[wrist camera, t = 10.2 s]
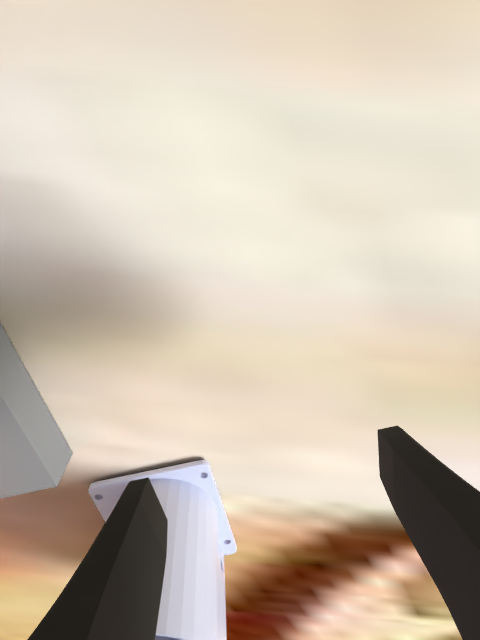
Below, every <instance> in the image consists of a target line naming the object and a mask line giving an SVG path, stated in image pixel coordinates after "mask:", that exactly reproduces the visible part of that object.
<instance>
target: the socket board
mask: <svg viewBox="0 0 480 640" xmlns="http://www.w3.org/2000/svg"><path fill="white" fill-rule="evenodd" d="M72 454H73V452H72V450H71V449H70V447H69V445H68V443H67V441H66V440H65V438H64V436H63V434H62V432H61V431H60V429H59V427H58V425H57V424H56V422H55V420H54V418H53V416H52V415H51V413H50V411H49V409H48V407H47V406H46V404H45V402H44V400H43V398H42V397H41V395H40V393H39V391H38V389H37V388H36V386H35V384H34V382H33V380H32V379H31V377H30V375H29V373H28V371H27V370H26V368H25V366H24V364H23V362H22V361H21V359H20V357H19V355H18V353H17V352H16V350H15V348H14V346H13V345H12V343H11V341H10V339H9V337H8V336H7V334H6V332H5V330H4V328H3V327H2V325H1V323H0V499H1V498H6V497H10V496H15V495H20V494H25V493H30V492H34V491H39V490H44V489H49V488H54V487H57V486H58V484H59V482H60V479H61V477H62V475H63V473H64V471H65V469H66V467H67V464H68V462H69V460H70V458H71V456H72Z"/></svg>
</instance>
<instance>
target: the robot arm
mask: <svg viewBox="0 0 480 640" xmlns="http://www.w3.org/2000/svg"><path fill="white" fill-rule="evenodd" d="M378 447H379V468H380V478H381V480H382V483H383V485H384V487H385V490H386V492H387V495H388V497H389V499H390V501H391V504H392V506H393V508H394V510H395V512H396V514H397V516H398V518H399V520H400V521H401V523H402V525H403V527H404V529H405V530H406V532H407V534H408V536H409V538H410V539H411V541H412V543H413V545H414V547H415V548H416V550H417V552H418V554H419V556H420V557H421V559H422V561H423V563H424V564H425V566H426V568H427V570H428V572H429V573H430V575H431V577H432V579H433V581H434V582H435V584H436V586H437V588H438V589H439V591H440V593H441V595H442V597H443V599H444V601H445V603H446V605H447V607H448V609H449V611H450V613H451V615H452V617H453V619H454V622H455V624H456V626H457V628H458V630H459V632H460V634H461V637H462V639H463V640H480V492H479V491H478V490H477V489H475V488H474V487H473V486H471V485H470V484H469V483H467V482H466V481H465V480H463V479H462V478H461V477H460V476H458V475H457V474H456V473H454V472H453V471H452V470H451V469H449V468H448V467H447V466H445V465H444V464H443V463H442V462H441V461H439V460H438V459H437V458H436V457H434V456H433V455H432V454H431V453H430V452H428V451H427V450H426V449H425V448H424V447H422V446H421V445H420V444H419V443H418V442H417V441H415V440H414V439H413V438H412V437H411V436H410V435H408V434H407V433H406V432H405V431H404V430H403V429H402V428H400V427H399V426H394V427H389V428H384V429H379V430H378ZM88 493H89V495H90V496H91V498H92V500H93V502H94V503H95V505H96V507H97V509H98V510H99V512H100V514H101V516H102V517H103V519H104V521H105V524H104V526H103V528H102V530H101V531H100V533H99V534H98V536H97V538H96V539H95V541H94V543H93V544H92V546H91V548H90V549H89V551H88V553H87V554H86V556H85V558H84V559H83V561H82V562H81V564H80V565H79V567H78V568H77V570H76V571H75V573H74V574H73V576H72V578H71V579H70V581H69V582H68V584H67V585H66V587H65V588H64V590H63V591H62V593H61V594H60V596H59V597H58V598H57V600H56V601H55V603H54V604H53V606H52V607H51V609H50V610H49V611H48V613H47V614H46V615H45V617H44V618H43V620H42V621H41V622H40V624H39V625H38V626H37V628H36V629H35V630H34V632H33V633H32V634H31V636H30V637H29V638H28V640H227V639H226V605H225V571H224V556H225V555H230V554H233V553H235V552H236V551H237V544H236V541H235V538H234V535H233V532H232V529H231V526H230V524H229V521H228V518H227V515H226V512H225V509H224V506H223V503H222V500H221V497H220V494H219V491H218V488H217V485H216V482H215V479H214V476H213V473H212V470H211V467H210V464H209V462H207V461H205V460H199V461H194V462H189V463H184V464H179V465H174V466H170V467H165V468H160V469H155V470H150V471H146V472H141V473H136V474H131V475H126V476H122V477H117V478H112V479H107V480H102V481H97V482H94V483H91V484H90V486H89V489H88ZM99 494H100V495H99Z"/></svg>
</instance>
